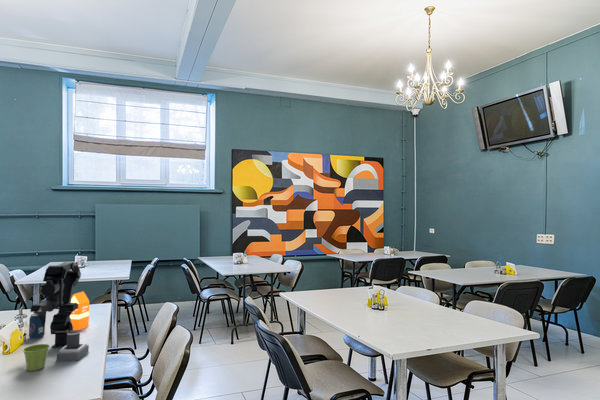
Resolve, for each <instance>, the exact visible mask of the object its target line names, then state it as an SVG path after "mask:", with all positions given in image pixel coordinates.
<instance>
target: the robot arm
mask: <svg viewBox="0 0 600 400" xmlns="http://www.w3.org/2000/svg"><path fill="white" fill-rule="evenodd" d="M43 276H44V277H43V279H42V281H43V282H45V284H43V285H42V286H41V288H40V294H41V295H42V296H44V297H46V298H45V300H44V301H42V302H37V303H35V304H31V306H30V311H29V312H31V313H33V314H37V315H38V316H39V318H40V321H41V323H42V326H45V327H46V321H47V320H46V318H47V312H48V313H49V312H50V313H51V312H53V311H54V310H58V312H57V313H56V314H54V315H53V316H52V320H51V322H50V327H49V328H50V335H54V344H52V345H51V348H63V347H64V346H66V345H67V332H68V331H72V330H73V325H72V322H71V318H70V315H71V313H72V312H73V311H75V310H76V309H78V304H77V303H71V299H72V296H73V295H74V294H73V293H74V288H75V287H76V286H77V285H78V283H79V281H80V279H81V278H82V277H81V276H82V273H81V269H80V267H79V266H77V265H75V263H74V261H65V262H62V263H61V264H58V265H49V266H47V267H46V269H45V273H44V275H43Z"/></svg>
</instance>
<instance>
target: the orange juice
mask: <svg viewBox="0 0 600 400" xmlns="http://www.w3.org/2000/svg"><path fill="white" fill-rule="evenodd" d="M71 303H77V304H78V309H76V310H75V311H73V312H72V313H71V315H70V318H71V322H72V325H73V330H79V331H81V330H82V329H84V327H85V328H87V327H88V326H89V325H90V324H89V323H90V321H89V320H90V300H89V298H88V296H87V295H86V293H85V291H81V292H77V293H74V294H72V299H71ZM86 326H87V327H86Z"/></svg>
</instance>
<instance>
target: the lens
mask: <svg viewBox="0 0 600 400" xmlns="http://www.w3.org/2000/svg"><path fill="white" fill-rule="evenodd" d="M80 333H81V330H72V331H68V332H67V349H78V348H79V344H80V339H81V337H80V335H81V334H80Z"/></svg>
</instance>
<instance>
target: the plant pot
mask: <svg viewBox="0 0 600 400" xmlns="http://www.w3.org/2000/svg"><path fill="white" fill-rule="evenodd" d="M49 348H50V345H49V344H47V343H45V344H44V343H40V344H39V343H37V344H33V345H29V346H26V347H24V348H23V349H22V352H23V354H24V356H25V357H24V358H25V364H26V370H27V371H29V372H30V371H31V372H34V371H38V370H40V369H44V368H45V366H46V365H45V364H46V358H47V353H48V351H49Z"/></svg>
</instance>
